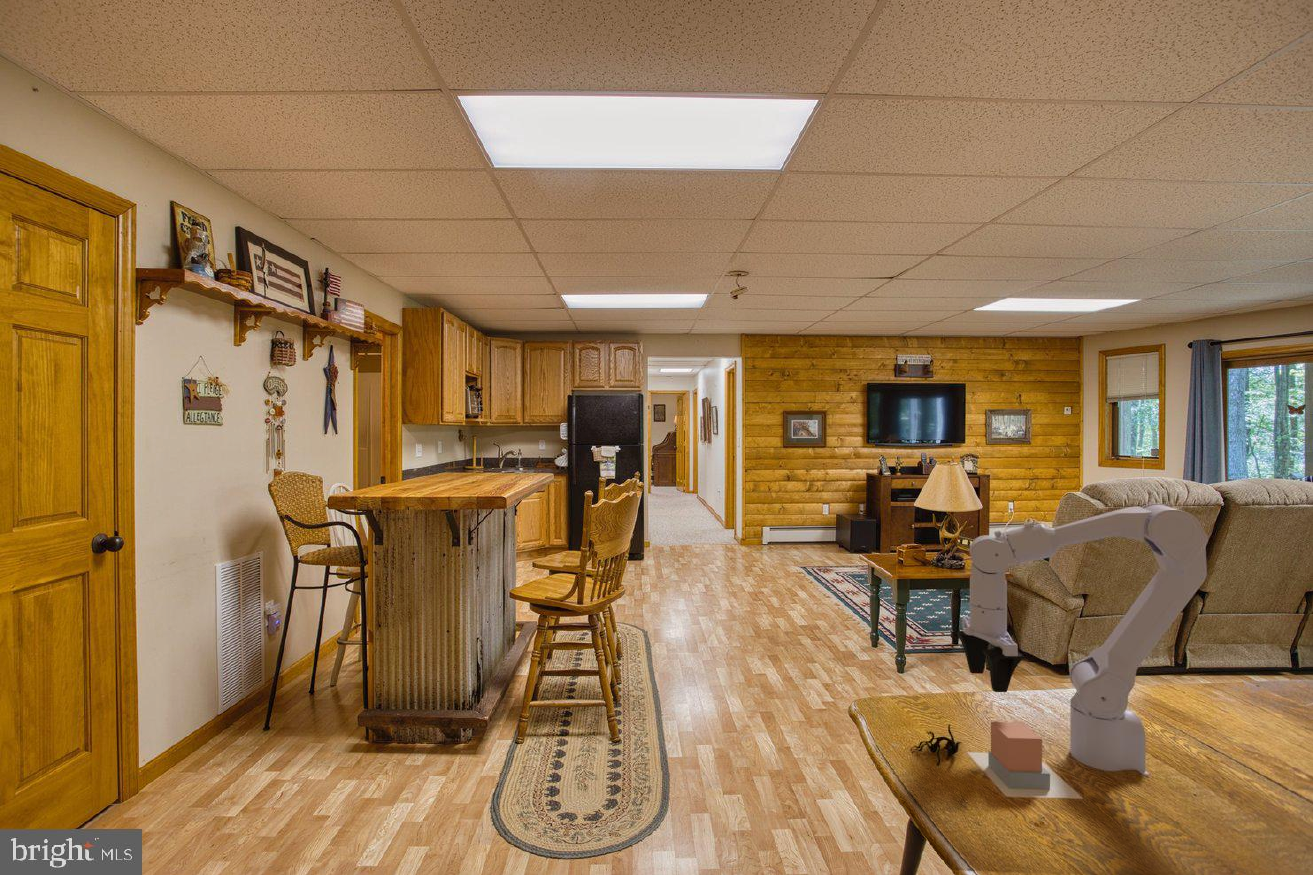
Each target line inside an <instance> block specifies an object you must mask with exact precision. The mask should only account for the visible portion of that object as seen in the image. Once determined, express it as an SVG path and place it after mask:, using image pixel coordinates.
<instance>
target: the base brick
mask: <svg viewBox="0 0 1313 875" xmlns="http://www.w3.org/2000/svg"><path fill="white" fill-rule="evenodd" d="M987 753H988V766H989V767H990V768H991V769H992V770H993V772H994V773H995V774H996V775H997V776H998V777H999V778H1000V779H1001V780H1002V781H1003V782H1004V784H1005V785H1006V786H1007V787H1008V788H1009V789H1047V790H1050V773H1049V772H1048V771H1047V770H1046V769H1045V768H1043V767H1042V772H1032V771H1008V770H1007V769H1006V768H1005V767H1004V766H1003V765H1002V764H1001V763H1000V762H999V761H998V760H997V759H996V758H995V757H994V756H993V755H992V754H991V750H989V751H988V752H987Z"/></svg>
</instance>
